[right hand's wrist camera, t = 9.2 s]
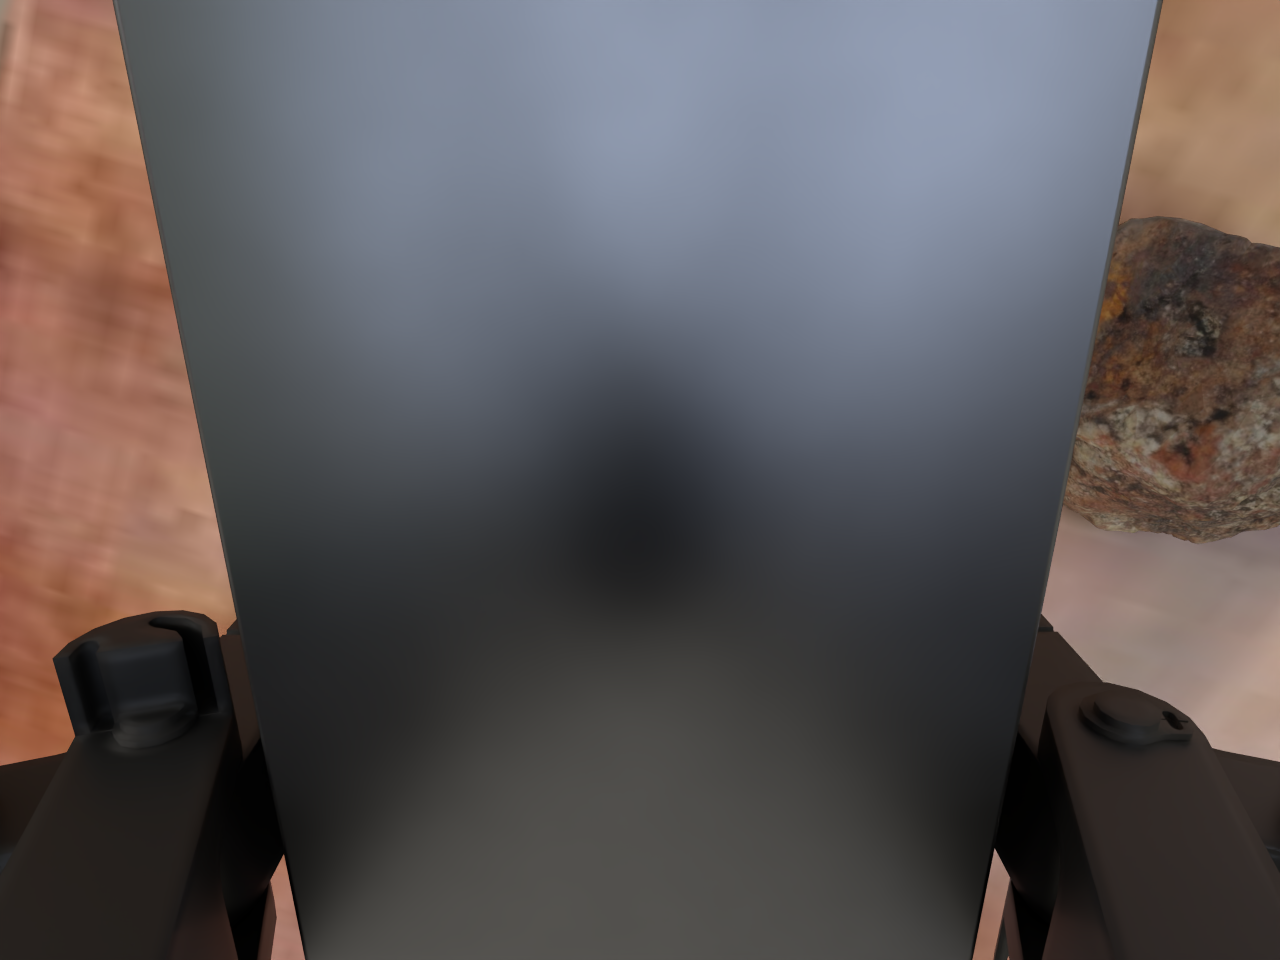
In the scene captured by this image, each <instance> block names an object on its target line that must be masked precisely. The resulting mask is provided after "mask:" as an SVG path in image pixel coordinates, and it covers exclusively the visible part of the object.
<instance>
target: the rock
mask: <svg viewBox="0 0 1280 960" xmlns="http://www.w3.org/2000/svg"><path fill="white" fill-rule="evenodd" d="M1063 504H1064V505H1065V506H1067V507H1068V508H1069V509H1071V510H1073V511H1075V512H1078V513H1080V514H1081V515H1082V516H1083V517H1084V518H1086V519H1087V520H1088V521H1090V522H1091V523H1092V524H1093V525H1095V526H1096V527H1097V528H1100V529H1103V530H1106V531H1124V532H1130V533H1135V532H1137V531H1139V530H1140V531H1151V532H1155V533H1161V532H1163V533H1166V534H1172V535H1173V536H1174V537H1176V538H1179V539H1182V540H1184V541H1185V540H1189V541H1190V542H1192V543H1196V544H1201V543H1206V542H1213V541H1217V540H1220V539H1224V538H1229V537H1233V536H1235V535H1237V534H1239V533H1241V532H1243V531H1252V530H1265V529H1269V528H1273V527H1277V526H1278V525H1280V248H1279V247H1274V246H1270V245H1265V244H1259V243H1251V242H1250V241H1249V240H1248V239H1247V238H1244V237H1241V236H1237V235H1230V234H1226V233H1223V232H1221V231H1218V230H1216V229H1214V228H1211V227H1209V226H1206V225H1204V224H1201V223H1197V222H1193V221H1189V220H1185V219H1181V218H1172V217H1160V216H1156V217H1150V218H1144V219H1130V220H1128V221H1126V222H1124V223H1122V224H1121V225H1119V226H1118V229H1117V234H1116V239H1115V244H1114V249H1113V254H1112V259H1111V264H1110V269H1109V274H1108V280H1107V285H1106V290H1105V295H1104V300H1103V305H1102V310H1101V315H1100V320H1099V325H1098V330H1097V335H1096V340H1095V345H1094V350H1093V355H1092V360H1091V365H1090V370H1089V375H1088V380H1087V385H1086V390H1085V395H1084V400H1083V405H1082V410H1081V415H1080V420H1079V425H1078V430H1077V435H1076V440H1075V446H1074V451H1073V456H1072V461H1071V466H1070V471H1069V476H1068V481H1067V486H1066V491H1065V496H1064V501H1063Z"/></svg>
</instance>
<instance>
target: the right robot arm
mask: <svg viewBox="0 0 1280 960" xmlns="http://www.w3.org/2000/svg"><path fill="white" fill-rule="evenodd" d="M53 662H54V665H55V669H56V672H57V676H58V679H59V682H60V686H61V689H62V692H63V696H64V699H65V703H66V706H67V709H68V713H69V716H70V720H71V723H72V726H73V730H74V733H75V738H74V740H73V742H72V744H71V745H70V747H69V749H68V751H67V752H66V753H62V754H58V755H53V756H48V757H43V758H38V759H33V760H28V761H23V762H18V763H13V764H7V765H2V766H0V960H271V954H272V946H273V939H274V932H275V925H276V918H277V917H276V909H275V901H274V896H273V891H272V886H271V882H270V879H271V878H272V876H273V874H274V872H275V870H276V868H277V866H278V864H279V862H280V860H281V858H282V856H283V855H284V851H283V846H282V841H281V836H280V831H279V826H278V821H277V816H276V811H275V806H274V801H273V796H272V791H271V786H270V781H269V776H268V771H267V766H266V761H265V756H264V752H263V747H262V742H261V737H260V732H259V727H258V722H257V717H256V712H255V707H254V702H253V697H252V692H251V687H250V682H249V677H248V672H247V667H246V662H245V657H244V652H243V647H242V642H241V637H240V632H239V627H238V622H237V619H236V621H235V622H234V623H233V624H232V625H231V626H230V627H229V628H228V629H227V634H226V635H222V636H221V637H220V638H219V633H218V628H217V623H216V622H214V621H213V620H211V619H210V618H209V617H207V616H206V615H204V614H200V613H194V612H189V611H184V610H179V611H157V612H151V613H146V614H141V615H136V616H131V617H126V618H123V619H120V620H117V621H114V622H112V623H109V624H106V625H103V626H100V627H98V628H95V629H93V630H91V631H89V632H87V633H86V634H84V635H82V636H80V637H79V638H77V639H75V640H73V641H71V642H70V643H68V644H67V645H66V646H65V647H64V648H63V649H62V650H61V651H60V652H59V653H58V654H57V655H56V656H55V657H54V658H53ZM995 849H996V851H997V853H998V855H999V857H1000V859H1001V861H1002V863H1003V865H1004V867H1005V868H1006V870H1007V872H1008V874H1009V876H1010V882H1009V886H1008V891H1007V896H1006V901H1005V906H1004V910H1003V915H1002V920H1001V925H1000V929H999V934H998V939H997V944H996V949H995V953H994V960H1007V958H1008V956H1009V959H1010V960H1280V762H1277V761H1272V760H1267V759H1262V758H1257V757H1251V756H1246V755H1241V754H1236V753H1231V752H1226V751H1221V750H1217V749H1214V748H1211V746H1210V744H1209V742H1208V740H1207V738H1206V736H1205V735H1204V734H1203V733H1202V731H1201V730H1200V729H1199V728H1198V727H1197V726H1196V724H1195V723H1194V722H1193V721H1192V720H1191V719H1190V718H1189V717H1188V716H1186V715H1185V714H1183V713H1182V712H1180V711H1179V710H1177V709H1176V708H1174V707H1173V706H1171V705H1170V704H1168V703H1167V702H1165V701H1163V700H1160V699H1158V698H1156V697H1153V696H1151V695H1149V694H1146V693H1144V692H1141V691H1139V690H1136V689H1132V688H1128V687H1124V686H1120V685H1115V684H1111V683H1104V682H1102V680H1101V679H1100V678H1099V677H1098V676H1097V675H1096V674H1095V673H1094V672H1093V670H1092V669H1091V668H1090V667H1089V666H1088V665H1087V664H1086V663H1085V662H1084V661H1083V659H1082V658H1081V657H1080V656H1079V655H1078V654H1077V653H1076V652H1075V651H1074V649H1073V648H1072V647H1071V646H1070V645H1069V644H1068V643H1067V642H1066V641H1065V640H1064V638H1063V637H1062V636H1061V635H1060V634H1059V633H1058V632H1054V631H1053V626H1052V625H1051V624H1050V623H1049V622H1048V621H1047V620H1046V619H1045V617H1044V616H1043V615H1042V614H1041V617H1040V622H1039V627H1038V632H1037V637H1036V642H1035V647H1034V652H1033V657H1032V662H1031V667H1030V672H1029V677H1028V682H1027V687H1026V692H1025V697H1024V702H1023V707H1022V712H1021V717H1020V722H1019V727H1018V732H1017V737H1016V742H1015V747H1014V752H1013V757H1012V762H1011V767H1010V772H1009V777H1008V783H1007V788H1006V793H1005V798H1004V803H1003V808H1002V813H1001V818H1000V823H999V828H998V833H997V838H996V843H995Z"/></svg>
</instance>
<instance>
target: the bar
mask: <svg viewBox="0 0 1280 960" xmlns="http://www.w3.org/2000/svg"><path fill="white" fill-rule="evenodd" d="M1162 3H1163V0H113V5H114V10H115V15H116V20H117V25H118V30H119V35H120V40H121V45H122V50H123V55H124V60H125V65H126V70H127V74H128V79H129V84H130V89H131V94H132V99H133V104H134V109H135V114H136V119H137V124H138V129H139V134H140V139H141V144H142V149H143V154H144V159H145V164H146V169H147V174H148V179H149V184H150V189H151V194H152V199H153V204H154V209H155V214H156V219H157V224H158V229H159V234H160V239H161V244H162V249H163V254H164V259H165V264H166V269H167V274H168V279H169V284H170V289H171V294H172V298H173V303H174V308H175V313H176V318H177V323H178V328H179V333H180V338H181V343H182V348H183V353H184V358H185V363H186V368H187V373H188V378H189V383H190V388H191V393H192V398H193V403H194V408H195V413H196V418H197V423H198V428H199V433H200V438H201V443H202V448H203V453H204V458H205V463H206V468H207V473H208V478H209V483H210V488H211V493H212V498H213V503H214V508H215V513H216V518H217V523H218V527H219V532H220V537H221V542H222V547H223V552H224V557H225V562H226V567H227V572H228V577H229V582H230V587H231V592H232V597H233V602H234V607H235V612H236V617H237V622H238V627H239V632H240V637H241V642H242V647H243V652H244V657H245V662H246V667H247V672H248V677H249V682H250V687H251V692H252V697H253V702H254V707H255V712H256V717H257V722H258V727H259V732H260V737H261V742H262V747H263V752H264V756H265V761H266V766H267V771H268V776H269V781H270V786H271V791H272V796H273V801H274V806H275V811H276V816H277V821H278V826H279V831H280V836H281V841H282V846H283V851H284V856H285V861H286V866H287V871H288V876H289V881H290V886H291V891H292V896H293V901H294V906H295V911H296V916H297V921H298V926H299V931H300V936H301V941H302V946H303V951H304V956H305V960H972V959H973V954H974V949H975V943H976V938H977V933H978V928H979V923H980V918H981V913H982V908H983V903H984V898H985V893H986V888H987V883H988V878H989V873H990V868H991V863H992V858H993V853H994V848H995V843H996V838H997V833H998V828H999V823H1000V818H1001V813H1002V808H1003V803H1004V798H1005V793H1006V788H1007V783H1008V777H1009V772H1010V767H1011V762H1012V757H1013V752H1014V747H1015V742H1016V737H1017V732H1018V727H1019V722H1020V717H1021V712H1022V707H1023V702H1024V697H1025V692H1026V687H1027V682H1028V677H1029V672H1030V667H1031V662H1032V657H1033V652H1034V647H1035V642H1036V637H1037V632H1038V627H1039V622H1040V617H1041V612H1042V606H1043V601H1044V596H1045V591H1046V586H1047V581H1048V576H1049V571H1050V566H1051V561H1052V556H1053V551H1054V546H1055V541H1056V536H1057V531H1058V526H1059V521H1060V516H1061V511H1062V506H1063V501H1064V496H1065V491H1066V486H1067V481H1068V476H1069V471H1070V466H1071V461H1072V456H1073V451H1074V446H1075V440H1076V435H1077V430H1078V425H1079V420H1080V415H1081V410H1082V405H1083V400H1084V395H1085V390H1086V385H1087V380H1088V375H1089V370H1090V365H1091V360H1092V355H1093V350H1094V345H1095V340H1096V335H1097V330H1098V325H1099V320H1100V315H1101V310H1102V305H1103V300H1104V295H1105V290H1106V285H1107V280H1108V274H1109V269H1110V264H1111V259H1112V254H1113V249H1114V244H1115V239H1116V234H1117V229H1118V224H1119V219H1120V214H1121V209H1122V204H1123V199H1124V194H1125V189H1126V184H1127V179H1128V174H1129V169H1130V164H1131V159H1132V154H1133V149H1134V144H1135V139H1136V134H1137V129H1138V124H1139V119H1140V114H1141V108H1142V103H1143V98H1144V93H1145V88H1146V83H1147V78H1148V73H1149V68H1150V63H1151V58H1152V53H1153V48H1154V43H1155V38H1156V33H1157V28H1158V23H1159V18H1160V13H1161V8H1162Z"/></svg>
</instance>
